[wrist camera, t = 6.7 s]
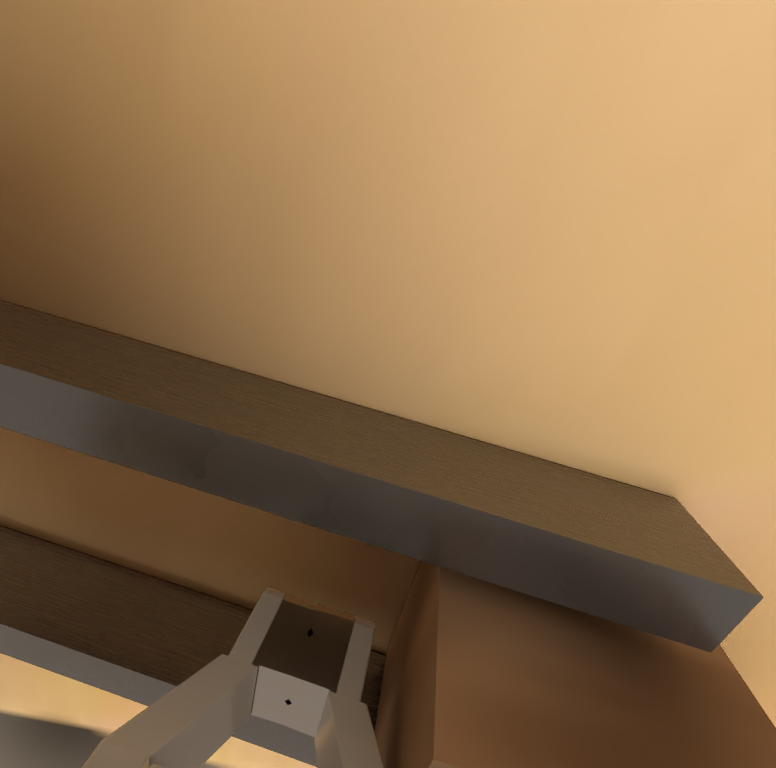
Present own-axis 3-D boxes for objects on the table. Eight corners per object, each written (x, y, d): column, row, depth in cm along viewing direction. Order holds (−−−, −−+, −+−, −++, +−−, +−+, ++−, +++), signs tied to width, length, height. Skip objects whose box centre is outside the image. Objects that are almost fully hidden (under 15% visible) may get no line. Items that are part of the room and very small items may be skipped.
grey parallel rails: (-66, 531, 13) (-173, 590, 11) (-160, 253, 10) (-353, 255, 7) (515, 729, 12) (530, 843, 10) (676, 499, 8) (763, 597, 6)
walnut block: (387, 647, 12) (345, 911, 7) (442, 506, 9) (432, 759, 5) (571, 710, 11) (653, 1029, 7) (675, 578, 9) (908, 925, 4)
